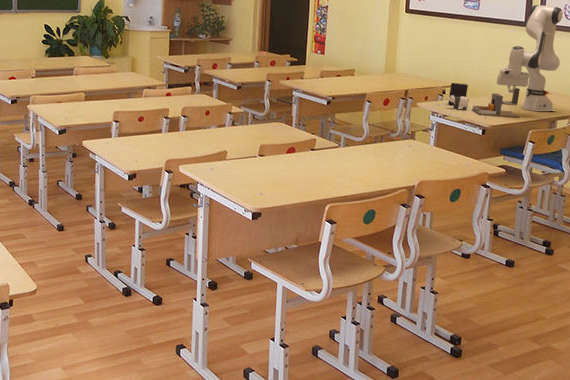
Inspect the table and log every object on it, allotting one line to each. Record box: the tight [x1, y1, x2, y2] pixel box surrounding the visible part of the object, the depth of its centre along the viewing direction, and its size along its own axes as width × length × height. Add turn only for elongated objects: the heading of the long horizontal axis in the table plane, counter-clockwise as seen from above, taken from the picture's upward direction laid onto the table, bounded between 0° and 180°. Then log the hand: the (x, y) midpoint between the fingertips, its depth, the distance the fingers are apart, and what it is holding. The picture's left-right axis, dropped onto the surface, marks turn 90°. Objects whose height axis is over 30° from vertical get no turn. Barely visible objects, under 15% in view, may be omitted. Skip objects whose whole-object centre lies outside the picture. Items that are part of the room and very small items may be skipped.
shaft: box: [502, 87, 520, 106], centre depth 541 cm, size 13×3×11 cm, turn 94°
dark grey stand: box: [471, 93, 520, 119], centre depth 542 cm, size 27×16×13 cm, turn 94°
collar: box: [487, 102, 494, 111], centre depth 542 cm, size 2×6×5 cm, turn 4°
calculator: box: [448, 82, 469, 106], centre depth 561 cm, size 11×4×15 cm, turn 84°
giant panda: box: [446, 95, 470, 111], centre depth 548 cm, size 15×6×10 cm, turn 91°
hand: (510, 92), depth 540 cm, fingers closed
